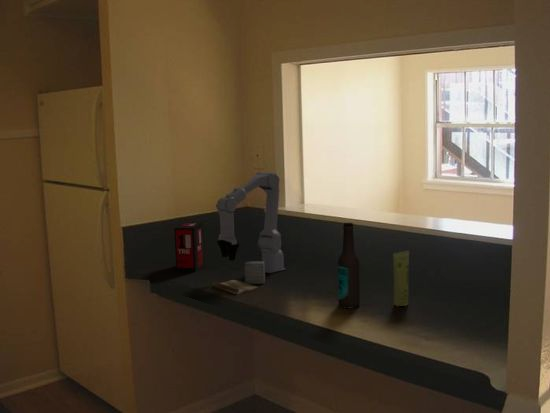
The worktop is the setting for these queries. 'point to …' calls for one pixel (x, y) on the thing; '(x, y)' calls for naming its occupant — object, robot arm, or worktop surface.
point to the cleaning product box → (189, 246)
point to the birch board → (234, 286)
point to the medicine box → (255, 272)
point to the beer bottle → (348, 271)
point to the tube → (401, 278)
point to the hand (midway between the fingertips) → (228, 258)
